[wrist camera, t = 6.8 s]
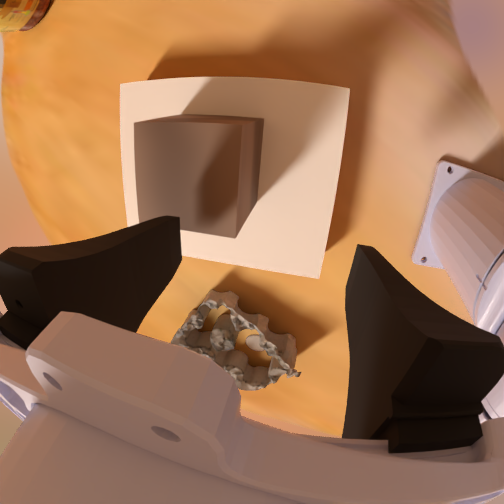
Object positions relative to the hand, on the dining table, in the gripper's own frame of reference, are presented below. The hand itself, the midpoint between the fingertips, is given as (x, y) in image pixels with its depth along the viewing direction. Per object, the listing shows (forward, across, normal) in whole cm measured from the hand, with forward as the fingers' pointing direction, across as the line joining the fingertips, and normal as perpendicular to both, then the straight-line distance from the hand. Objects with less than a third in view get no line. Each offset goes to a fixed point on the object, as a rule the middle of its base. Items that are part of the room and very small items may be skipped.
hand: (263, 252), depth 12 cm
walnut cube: (+6, +4, -2) cm, 8 cm away
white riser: (+9, +4, -1) cm, 10 cm away
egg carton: (+10, +2, +15) cm, 18 cm away
